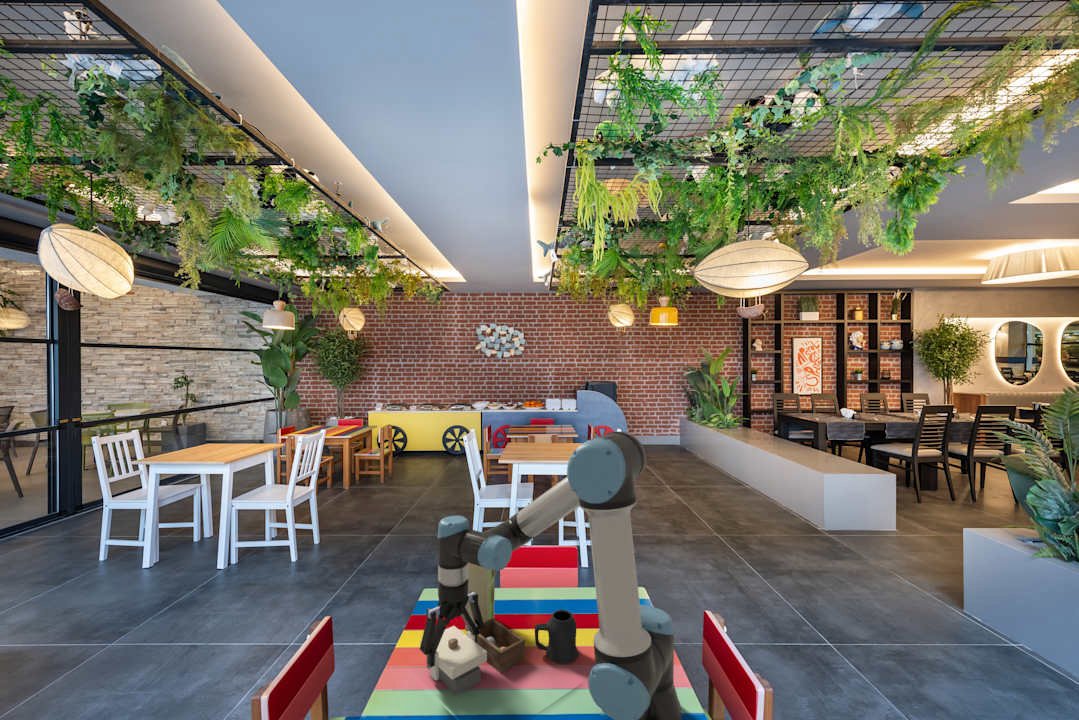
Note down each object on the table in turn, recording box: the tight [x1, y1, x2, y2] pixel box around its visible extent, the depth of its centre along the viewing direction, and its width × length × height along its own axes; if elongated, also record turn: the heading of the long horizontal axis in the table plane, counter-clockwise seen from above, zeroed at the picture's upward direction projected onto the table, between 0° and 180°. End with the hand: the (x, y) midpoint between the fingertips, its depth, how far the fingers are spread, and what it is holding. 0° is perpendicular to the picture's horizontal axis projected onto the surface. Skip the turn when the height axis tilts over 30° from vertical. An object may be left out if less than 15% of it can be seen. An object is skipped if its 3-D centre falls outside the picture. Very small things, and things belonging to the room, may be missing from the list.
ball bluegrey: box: [486, 637, 495, 645], centre depth 130 cm, size 3×3×3 cm
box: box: [469, 618, 526, 674], centre depth 128 cm, size 14×8×6 cm, turn 43°
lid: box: [419, 625, 487, 680], centre depth 120 cm, size 15×10×4 cm, turn 43°
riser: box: [426, 659, 482, 696], centre depth 120 cm, size 14×7×4 cm, turn 43°
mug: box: [534, 609, 579, 665], centre depth 128 cm, size 12×9×11 cm
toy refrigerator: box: [464, 563, 496, 632], centre depth 141 cm, size 8×7×21 cm
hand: (453, 667), depth 120 cm, fingers closed on lid, 10 cm apart
